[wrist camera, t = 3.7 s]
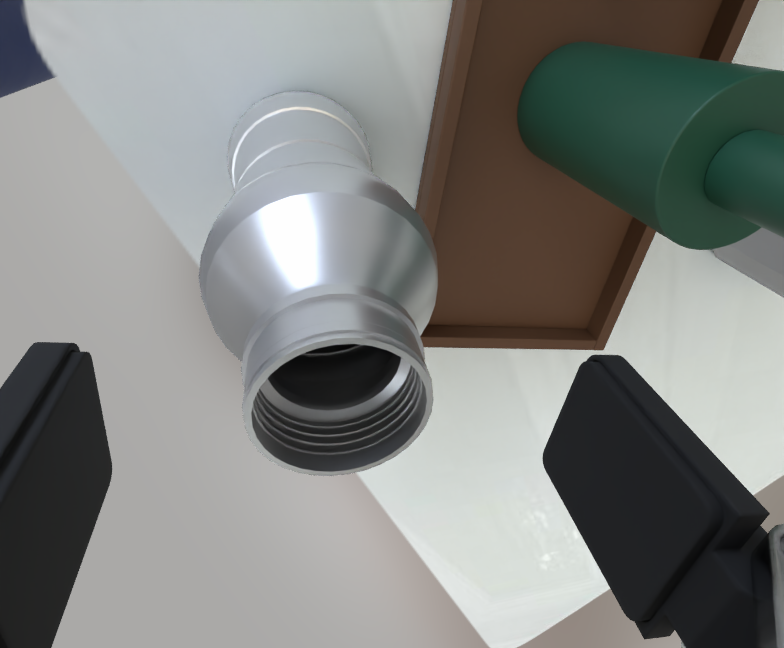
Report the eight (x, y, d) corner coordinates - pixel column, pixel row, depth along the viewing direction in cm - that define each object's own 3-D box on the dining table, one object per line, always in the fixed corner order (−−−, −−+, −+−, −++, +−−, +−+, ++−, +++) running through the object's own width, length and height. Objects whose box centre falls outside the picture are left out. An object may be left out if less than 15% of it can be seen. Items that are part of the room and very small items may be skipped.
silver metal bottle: (219, 85, 24) (96, 286, 8) (360, 78, 25) (526, 241, 9) (243, 216, 28) (197, 545, 11) (367, 205, 29) (492, 493, 12)
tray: (393, 329, 33) (400, 347, 32) (518, -364, 18) (543, -401, 16) (588, 333, 37) (603, 350, 35) (829, -244, 22) (877, -265, 20)
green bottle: (503, 156, 28) (728, 316, 14) (536, 32, 25) (863, 79, 11) (599, 167, 29) (888, 322, 15) (640, 51, 26) (1047, 114, 12)
